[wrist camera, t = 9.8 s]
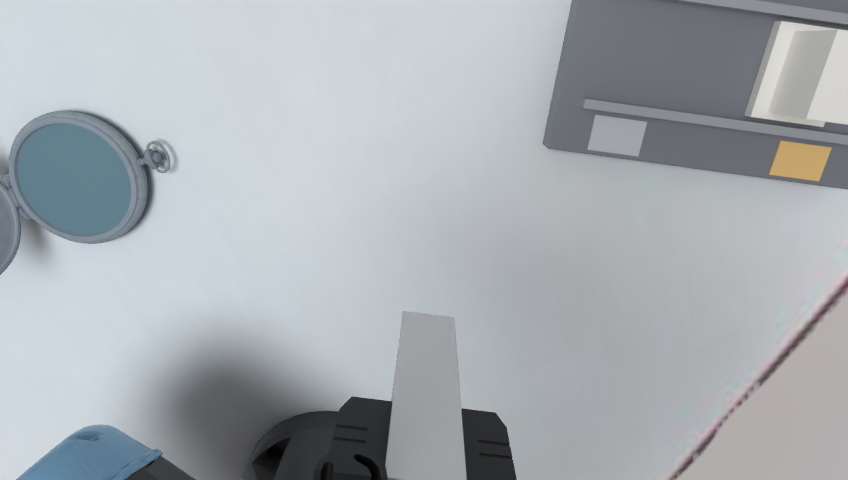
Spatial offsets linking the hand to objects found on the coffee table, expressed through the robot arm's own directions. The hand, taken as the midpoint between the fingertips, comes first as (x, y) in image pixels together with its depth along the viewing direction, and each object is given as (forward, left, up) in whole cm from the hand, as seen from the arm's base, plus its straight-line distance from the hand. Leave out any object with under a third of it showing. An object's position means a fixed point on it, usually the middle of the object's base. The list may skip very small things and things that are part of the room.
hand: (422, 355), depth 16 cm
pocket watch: (-4, +26, -27) cm, 38 cm away
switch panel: (+10, -19, -26) cm, 34 cm away
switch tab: (+10, -23, -24) cm, 35 cm away
